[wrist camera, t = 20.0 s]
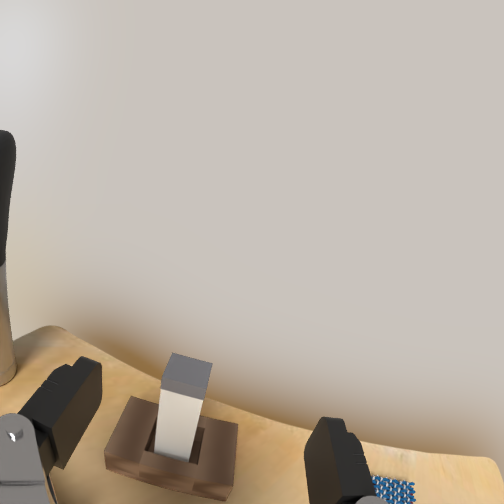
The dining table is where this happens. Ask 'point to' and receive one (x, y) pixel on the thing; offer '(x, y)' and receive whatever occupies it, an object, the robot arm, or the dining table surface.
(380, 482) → the woven mat
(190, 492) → the brown square socket block
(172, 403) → the grey-capped white post
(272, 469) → the dining table surface
